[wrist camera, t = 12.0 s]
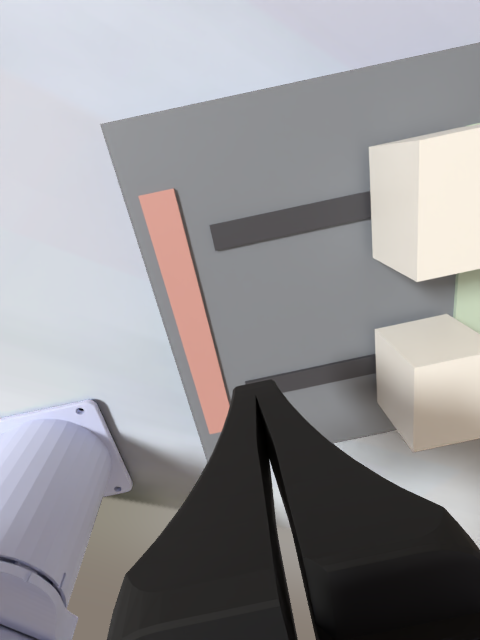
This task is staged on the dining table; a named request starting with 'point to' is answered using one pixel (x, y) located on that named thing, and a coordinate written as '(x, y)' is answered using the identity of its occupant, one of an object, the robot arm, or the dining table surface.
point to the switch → (430, 380)
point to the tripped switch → (427, 203)
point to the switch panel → (287, 234)
